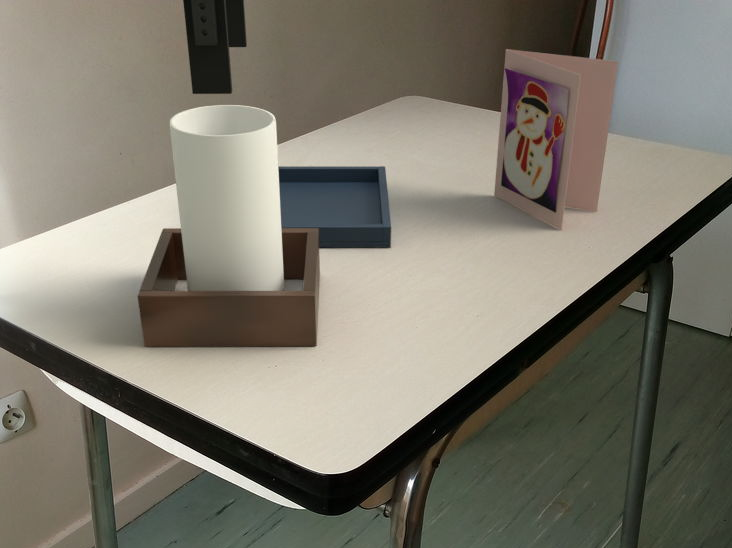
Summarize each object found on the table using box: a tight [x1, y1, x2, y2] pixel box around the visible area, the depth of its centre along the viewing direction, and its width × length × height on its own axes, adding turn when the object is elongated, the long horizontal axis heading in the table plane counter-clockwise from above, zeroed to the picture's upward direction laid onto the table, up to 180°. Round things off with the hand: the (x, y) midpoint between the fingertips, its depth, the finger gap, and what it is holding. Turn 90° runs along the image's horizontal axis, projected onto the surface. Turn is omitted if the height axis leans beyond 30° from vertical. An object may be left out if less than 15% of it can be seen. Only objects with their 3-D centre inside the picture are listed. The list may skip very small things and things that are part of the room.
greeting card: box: [493, 48, 619, 231], centre depth 103 cm, size 11×7×15 cm, turn 31°
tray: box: [278, 165, 392, 249], centre depth 105 cm, size 18×18×2 cm
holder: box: [136, 227, 321, 348], centre depth 86 cm, size 14×14×4 cm
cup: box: [169, 104, 285, 291], centre depth 83 cm, size 8×8×16 cm
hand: (221, 68), depth 76 cm, fingers open, 13 cm apart
